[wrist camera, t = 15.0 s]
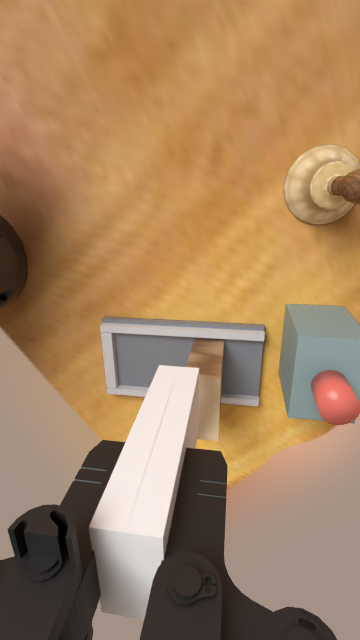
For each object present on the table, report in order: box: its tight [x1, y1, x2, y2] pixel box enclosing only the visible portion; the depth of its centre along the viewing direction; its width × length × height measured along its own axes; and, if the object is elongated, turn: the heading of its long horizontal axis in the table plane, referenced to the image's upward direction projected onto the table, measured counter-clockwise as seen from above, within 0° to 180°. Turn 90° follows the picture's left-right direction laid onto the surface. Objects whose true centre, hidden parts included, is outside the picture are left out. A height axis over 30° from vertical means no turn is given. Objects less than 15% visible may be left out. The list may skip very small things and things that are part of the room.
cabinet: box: [279, 304, 360, 423], centre depth 41 cm, size 7×11×10 cm, turn 1°
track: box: [100, 317, 265, 406], centre depth 49 cm, size 22×12×2 cm, turn 91°
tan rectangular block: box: [186, 339, 224, 441], centre depth 43 cm, size 4×8×10 cm, turn 1°
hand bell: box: [284, 144, 360, 225], centre depth 31 cm, size 8×8×16 cm
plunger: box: [311, 370, 360, 425], centre depth 34 cm, size 4×4×4 cm
